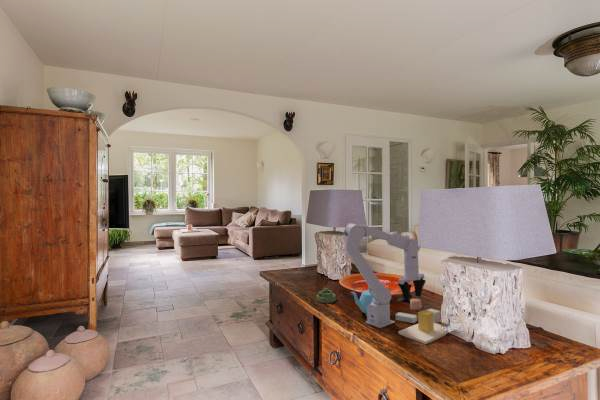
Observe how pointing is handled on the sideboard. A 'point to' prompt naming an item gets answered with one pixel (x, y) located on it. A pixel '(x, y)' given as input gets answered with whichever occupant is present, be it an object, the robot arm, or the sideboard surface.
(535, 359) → the sideboard surface
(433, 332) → the cream board
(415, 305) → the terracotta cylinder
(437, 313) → the grey cube
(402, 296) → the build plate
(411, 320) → the blue-grey slab
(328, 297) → the decorative artifact
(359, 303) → the teapot
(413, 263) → the robot arm
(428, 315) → the mustard block
